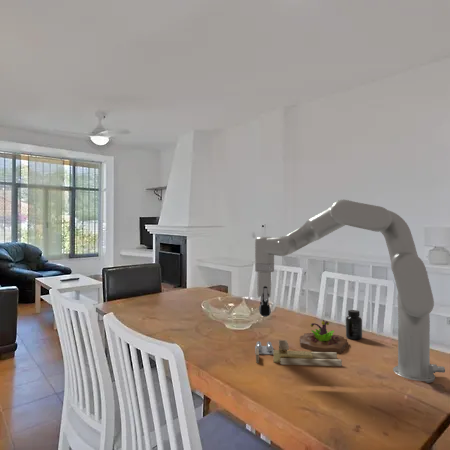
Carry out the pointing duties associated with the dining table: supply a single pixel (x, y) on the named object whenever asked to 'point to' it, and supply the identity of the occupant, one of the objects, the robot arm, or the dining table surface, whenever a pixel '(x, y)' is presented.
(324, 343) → the plant
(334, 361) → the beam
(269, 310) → the dark grey short cylinder
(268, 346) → the v block
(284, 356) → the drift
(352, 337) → the supplement bottle
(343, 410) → the dining table surface
